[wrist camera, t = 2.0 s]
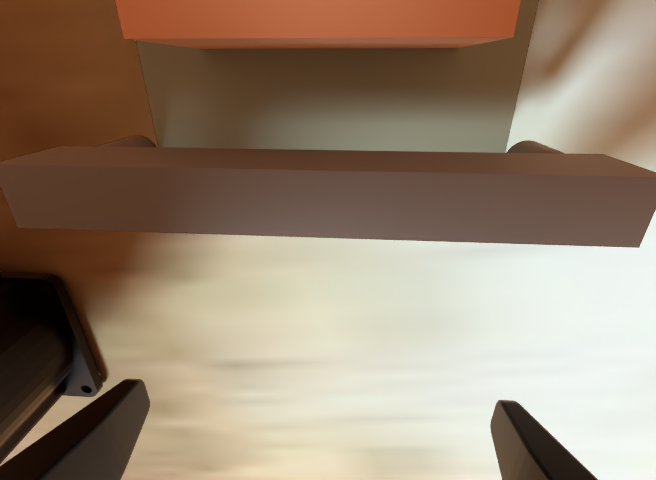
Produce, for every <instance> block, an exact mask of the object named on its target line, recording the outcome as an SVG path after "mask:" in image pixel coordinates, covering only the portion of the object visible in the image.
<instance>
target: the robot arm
mask: <svg viewBox="0 0 656 480" xmlns="http://www.w3.org/2000/svg"><path fill="white" fill-rule="evenodd" d="M102 386H103V384H102V381H101V378H100V376H99V373H98V370H97V368H96V365H95V363H94V360H93V358H92V355H91V352H90V350H89V347H88V345H87V342H86V340H85V337H84V334H83V332H82V329H81V327H80V324H79V322H78V319H77V316H76V314H75V311H74V309H73V306H72V304H71V301H70V298H69V296H68V293H67V291H66V288H65V286H64V284H63V282H62V280H61V279H59V278H58V277H57V276H55V275H53V274H47V273H22V272H0V464H1V463H2V461H3V460H4V459H5V458H6V457H7V456H8V455H9V454H10V453H11V451H12V450H13V449H14V448H15V447H16V446H17V445H18V444H19V443H20V441H21V440H22V439H23V438H24V437H25V436H26V435H27V434H28V433H29V431H30V430H31V429H32V428H33V427H34V426H35V425H36V424H37V423H38V421H39V420H40V419H41V418H42V417H43V416H44V415H45V414H46V413H47V411H48V410H49V409H50V408H51V407H52V406H53V405H54V404H55V403H56V401H57V400H58V399H59V398H60V397H61V396H62V395H67V396H83V397H93V396H95V395H96V394H97V393H98V392H99V391H100V389H101V388H102ZM149 408H150V400H149V396H148V393H147V390H146V387H145V384H144V382H143V381H142V380H140V379H126V380H123V381H122V382H120V383H119V384H118V385H116V386H115V387H113V388H112V389H110V390H109V391H107V392H106V393H105V394H103V395H102V396H100V397H99V398H97V399H96V400H95V401H93V402H92V403H90V404H89V405H87V406H86V407H85V408H83V409H82V410H80V411H79V412H77V413H76V414H75V415H73V416H72V417H70V418H69V419H67V420H66V421H65V422H63V423H62V424H60V425H59V426H57V427H56V428H54V429H53V430H52V431H50V432H49V433H47V434H46V435H44V436H43V437H42V438H40V439H39V440H37V441H36V442H34V443H33V444H32V445H30V446H29V447H27V448H26V449H24V450H23V451H22V452H20V453H19V454H17V455H16V456H14V457H13V458H12V459H10V460H9V461H7V462H6V463H4V464H3V465H1V466H0V480H120V479H121V477H122V475H123V473H124V471H125V469H126V466H127V464H128V462H129V459H130V457H131V454H132V451H133V449H134V446H135V444H136V441H137V439H138V436H139V434H140V431H141V429H142V426H143V424H144V421H145V419H146V416H147V414H148V411H149ZM491 434H492V438H493V442H494V446H495V450H496V455H497V459H498V463H499V467H500V472H501V476H502V480H598V479H597V478H596V477H595V476H594V475H593V474H591V473H590V472H589V471H588V470H587V469H586V468H585V467H584V466H583V465H582V464H581V463H580V462H579V461H578V460H577V459H576V458H575V457H574V456H573V455H572V454H571V453H570V452H569V451H568V450H567V449H566V448H565V447H563V446H562V445H561V444H560V443H559V442H558V441H557V440H556V439H555V438H554V437H553V436H552V435H551V434H550V433H549V432H548V431H547V430H546V429H545V428H544V427H543V426H542V425H541V424H540V423H539V422H538V421H537V420H535V419H534V418H533V417H532V416H531V415H530V414H529V413H528V412H527V411H526V410H525V409H524V408H523V407H522V406H521V405H520V404H519V403H517V402H516V401H510V400H499V401H498V402H497V403H496V406H495V410H494V413H493V416H492V420H491Z"/></svg>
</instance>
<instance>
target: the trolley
mask: <svg viewBox="0 0 656 480" xmlns="http://www.w3.org/2000/svg"><path fill="white" fill-rule="evenodd" d="M538 1H539V0H115V2H116V7H117V11H118V16H119V20H120V25H121V29H122V34H123V39H130V40H136V43H137V48H138V53H139V58H140V62H141V67H142V72H143V77H144V82H145V87H146V91H147V96H148V101H149V106H150V111H151V115H152V120H153V125H154V130H155V135H156V140H157V144H158V147H156V145H155V144H154V143H153V142H152V141H151V140H150V139H148V138H146V137H144V136H140V135H134V136H130V137H127V138H123V139H120V140H117V141H113V142H110V143H107V144H103V145H100V146H58V147H54V148H51V149H47V150H43V151H39V152H35V153H31V154H27V155H24V156H20V157H16V158H12V159H8V160H4V161H0V187H1V190H2V192H3V194H4V197H5V199H6V201H7V204H8V206H9V209H10V211H11V213H12V216H13V218H14V220H15V223H16V225H17V228H33V229H65V230H96V231H128V232H160V233H192V234H224V235H256V236H288V237H320V238H352V239H384V240H416V241H447V242H479V243H511V244H543V245H575V246H607V247H639V246H640V244H641V242H642V239H643V237H644V235H645V232H646V230H647V228H648V226H649V223H650V221H651V219H652V216H653V214H654V212H655V210H656V172H653V171H650V170H647V169H644V168H641V167H638V166H635V165H633V164H630V163H627V162H624V161H621V160H618V159H615V158H612V157H609V156H606V155H603V154H565V153H562V152H560V151H557V150H555V149H552V148H550V147H547V146H545V145H542V144H540V143H537V142H535V141H529V140H528V141H522V142H519V143H517V144H515V145H514V146H512V147H511V148H510V149H509V150H508V152H507V153H505V151H506V146H507V142H508V137H509V133H510V128H511V124H512V119H513V115H514V110H515V106H516V101H517V97H518V92H519V87H520V83H521V78H522V74H523V69H524V65H525V60H526V56H527V51H528V47H529V42H530V38H531V33H532V29H533V24H534V19H535V15H536V10H537V6H538Z"/></svg>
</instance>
